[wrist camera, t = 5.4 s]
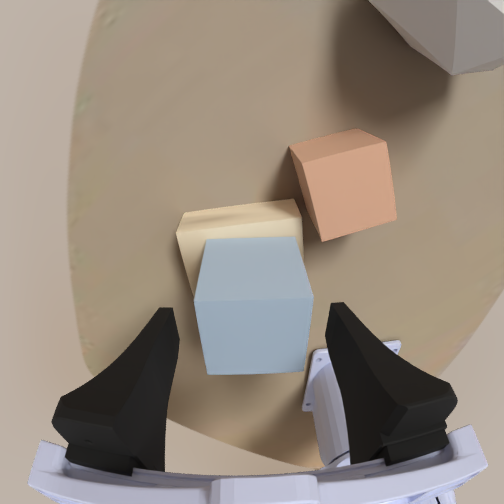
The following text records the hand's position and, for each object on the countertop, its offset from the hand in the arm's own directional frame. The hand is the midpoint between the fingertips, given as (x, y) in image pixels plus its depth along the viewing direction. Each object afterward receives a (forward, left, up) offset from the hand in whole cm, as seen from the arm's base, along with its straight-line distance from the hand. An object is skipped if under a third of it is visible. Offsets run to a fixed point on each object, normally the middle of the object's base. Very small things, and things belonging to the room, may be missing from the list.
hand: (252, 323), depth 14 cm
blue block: (0, 0, -4) cm, 4 cm away
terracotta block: (+5, -5, -6) cm, 10 cm away
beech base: (0, 0, -7) cm, 7 cm away
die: (+16, -10, -7) cm, 20 cm away
